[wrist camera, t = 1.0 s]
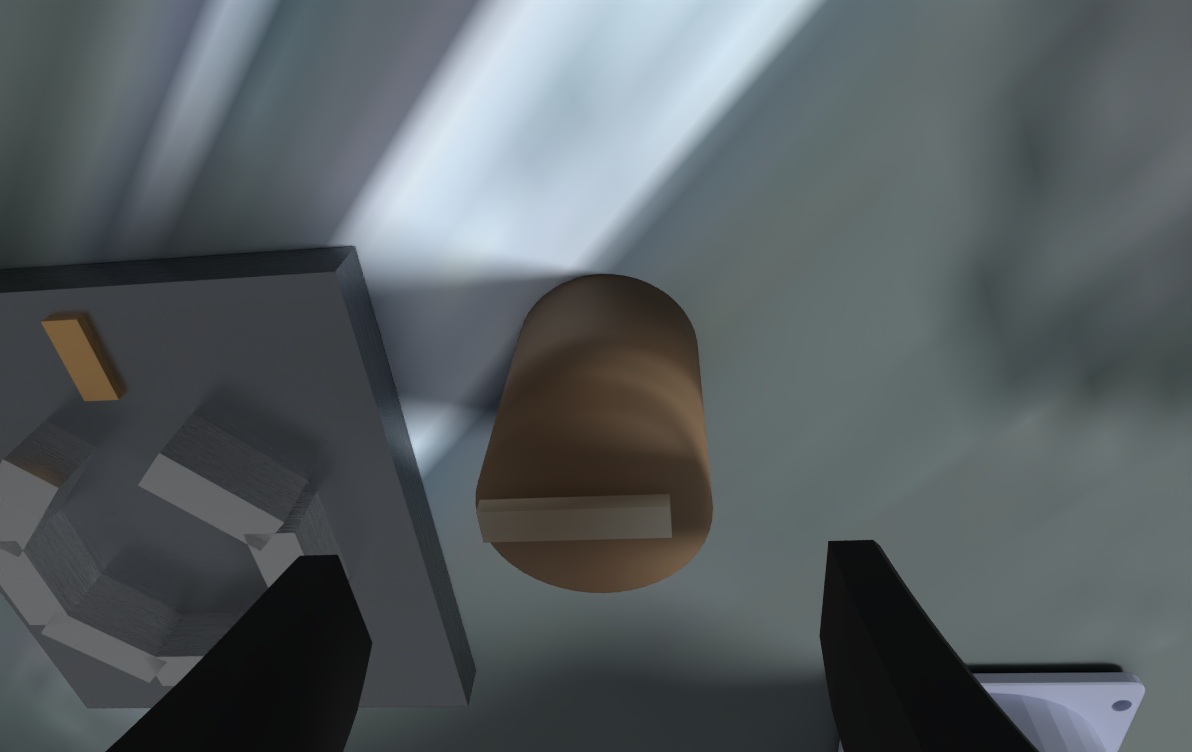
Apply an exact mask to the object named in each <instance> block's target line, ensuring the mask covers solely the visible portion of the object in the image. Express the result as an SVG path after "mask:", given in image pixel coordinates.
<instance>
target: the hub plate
mask: <svg viewBox="0 0 1192 752" xmlns="http://www.w3.org/2000/svg"><path fill="white" fill-rule="evenodd" d="M304 555H338V556H339V558H340V561H341V563H342V566H343V569H344V571H345V574H346V576H347V579H348V581H349V584H350V586H351V589H352V592H353V594H354V597H355V599H356V602H357V604H358V607H359V609H360V612H361V615H362V617H363V620H364V622H365V625H366V627H367V630H368V632H369V635H370V638H371V640H372V648H371V653H370V658H369V662H368V667H367V672H366V677H365V681H364V685H363V690H362V694H361V698H360V702H359V706H358V707H458V706H468V705H469V701H470V696H471V691H472V687H473V682H474V677H475V673H476V669H475V666H474V662H473V659H472V655H471V652H470V648H469V645H468V641H467V638H466V634H465V631H464V627H463V624H462V620H461V617H460V613H459V610H458V606H457V603H456V599H455V596H454V592H453V589H452V585H451V582H450V578H449V575H448V571H447V568H446V564H445V561H444V557H443V554H442V550H441V547H440V543H439V540H438V536H437V533H436V529H435V526H434V522H433V519H432V515H431V512H430V508H429V505H428V501H427V498H426V494H425V491H424V487H423V484H422V480H421V477H420V473H419V470H418V466H417V463H416V459H415V456H414V452H413V449H412V445H411V442H410V438H409V435H408V431H407V427H406V424H405V420H404V417H403V413H402V410H401V406H400V403H399V399H398V396H397V392H396V389H395V385H394V382H393V378H392V375H391V371H390V368H389V364H388V361H387V357H386V354H385V350H384V347H383V343H382V340H381V336H380V333H379V329H378V326H377V322H376V319H375V315H374V312H373V308H372V305H371V301H370V298H369V294H368V291H367V287H366V284H365V280H364V277H363V273H362V270H361V266H360V263H359V259H358V256H357V252H356V249H355V246H353V247H338V248H323V249H309V250H294V251H279V252H264V253H249V254H234V255H219V256H204V257H189V258H175V259H160V260H145V261H130V262H115V263H100V264H85V265H70V266H55V267H41V268H26V269H11V270H0V592H1V593H2V595H3V596H4V597H5V599H6V600H7V601H8V603H9V604H10V605H11V607H12V608H13V609H14V611H15V612H16V613H17V615H18V616H19V617H20V619H21V620H22V621H23V623H24V624H25V625H26V627H27V628H28V629H29V631H30V632H31V633H32V635H33V636H34V637H35V639H36V640H37V641H38V643H39V644H40V645H41V647H42V648H43V649H44V651H45V652H46V653H47V655H48V656H49V657H50V659H51V660H52V662H53V663H54V664H55V666H56V667H57V668H58V670H59V671H60V672H61V674H62V675H63V676H64V678H65V679H66V680H67V682H68V683H69V684H70V686H71V687H72V688H73V690H74V691H75V692H76V694H77V695H78V696H79V698H80V699H81V700H82V702H83V703H84V704H85V706H86V707H87V708H152V707H153V706H154V705H155V704H156V703H157V702H158V701H159V700H161V699H162V698H163V697H164V696H165V695H166V694H167V693H168V692H169V691H170V690H171V689H172V688H173V687H174V686H175V685H176V684H177V683H178V682H179V681H180V680H181V679H182V678H183V677H184V676H185V675H186V674H187V673H188V672H189V671H190V670H191V669H192V668H193V667H194V666H195V665H196V664H197V663H198V662H199V661H200V660H201V659H202V658H203V657H204V656H205V655H206V654H207V653H208V652H209V650H210V649H211V648H212V647H213V646H214V645H215V644H216V643H217V642H218V641H219V640H220V639H221V638H222V637H223V636H224V635H225V634H226V633H227V632H228V631H229V630H230V629H231V628H232V626H233V625H234V624H235V623H236V622H237V621H238V620H239V619H240V618H241V617H242V616H243V615H244V614H245V613H246V612H247V611H248V609H249V608H250V607H251V606H252V605H253V604H254V603H255V602H256V601H257V600H258V599H259V598H260V597H261V596H262V595H263V593H264V592H265V591H266V590H267V589H268V588H269V587H270V586H271V585H272V584H273V583H274V582H275V581H276V580H277V578H278V577H279V576H280V575H281V574H282V573H283V572H284V571H285V570H286V569H287V568H288V567H289V566H290V565H291V564H292V563H293V562H294V561H295V560H296V559H297V558H298V557H299V556H304Z"/></svg>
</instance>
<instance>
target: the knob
mask: <svg viewBox="0 0 1192 752" xmlns="http://www.w3.org/2000/svg"><path fill="white" fill-rule="evenodd" d="M476 509H477V511H476V513H477V517H478V522H479V526H480V530H481V534H482V538H483V542H484V543H486V542H490V543H491V544H492V545H493V547H494V548H495V549H496V550H497V551H498V552H499V553H500V554H501V556H502V557H504V558H505V559H506V560H507V561H508V562H509V563H511V564H512V565H513V566H515V567H516V568H518V569H519V570H521V571H522V572H524V573H526V574H528V575H529V576H531V577H533V578H535V579H538V580H540V581H542V582H545V583H547V584H550V585H553V586H557V587H560V588H564V589H569V590H574V591H581V592H590V593H610V592H621V591H628V590H633V589H637V588H641V587H645V586H648V585H650V584H653V583H656V582H658V581H660V580H662V579H664V578H666V577H668V576H670V575H672V574H673V573H675V572H676V571H678V570H679V569H681V568H682V567H683V566H684V565H686V564H687V563H688V562H689V561H690V560H691V559H692V558H693V557H694V556H695V555H696V553H697V552H698V551H699V550H700V548H701V546H702V545H703V543H704V542H705V540H706V537H707V535H708V533H709V530H710V526H711V522H712V513H713V505H712V494H711V484H710V473H709V462H708V451H707V441H706V430H705V419H704V409H703V398H702V387H701V376H700V366H699V355H698V345H697V339H696V335H695V331H694V329H693V327H692V324H691V322H690V320H689V319H688V317H687V315H686V314H685V312H684V311H683V310H682V308H681V307H680V306H679V305H678V304H677V303H676V302H675V301H674V300H673V299H672V298H671V297H670V296H669V295H667V294H666V293H664V292H663V291H661V290H660V289H658V288H657V287H655V286H653V285H651V284H649V283H647V282H644V281H641V280H639V279H636V278H631V277H627V276H622V275H614V274H597V275H589V276H584V277H580V278H576V279H573V280H570V281H568V282H565V283H563V284H561V285H559V286H557V287H555V288H554V289H552V290H551V291H549V292H548V293H547V294H545V295H544V296H543V297H542V298H541V299H540V300H539V301H538V302H537V303H536V304H535V305H534V306H533V308H532V309H531V310H530V312H529V313H528V315H527V317H526V319H525V320H524V323H523V326H522V328H521V331H520V335H519V338H518V342H517V345H516V349H515V352H514V356H513V359H512V363H511V366H510V370H509V374H508V377H507V381H506V384H505V388H504V391H503V395H502V398H501V402H500V406H499V409H498V413H497V416H496V420H495V423H494V427H493V430H492V434H491V438H490V441H489V445H488V448H487V452H486V455H485V459H484V462H483V466H482V469H481V473H480V477H479V480H478V485H477V490H476Z"/></svg>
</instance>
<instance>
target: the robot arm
mask: <svg viewBox="0 0 1192 752" xmlns="http://www.w3.org/2000/svg"><path fill="white" fill-rule="evenodd" d="M820 641H821V648H822V654H823V660H824V666H825V673H826V679H827V685H828V690H829V696H830V702H831V707H832V711H833V715H834V719H835V722H836V726H837V730H838V733H839V737H840V742H839V750H838V752H1117V751H1118V749H1119V747H1120V745H1121V743H1122V741H1123V739H1124V736H1125V734H1126V732H1127V730H1128V728H1129V726H1130V724H1131V721H1132V719H1133V717H1134V715H1135V713H1136V711H1137V709H1138V706H1139V704H1140V702H1141V700H1142V698H1143V696H1144V694H1145V688H1144V686H1143V684H1142V683H1141V681H1140V679H1139V678H1138V677H1137V676H1136V675H1134V674H1132V673H1126V672H1094V673H974V674H972V672H971V671H970V670H969V669H968V667H967V666H966V665H965V664H964V662H963V661H962V660H961V659H960V657H959V656H958V655H957V653H956V652H955V651H954V650H953V648H952V647H951V646H950V645H949V643H948V642H947V641H946V640H945V638H944V637H943V636H942V634H941V633H940V632H939V630H938V629H937V628H936V626H935V625H934V624H933V622H932V621H931V620H930V618H929V617H928V615H927V614H926V613H925V611H924V610H923V608H922V607H921V606H920V604H919V603H918V602H917V600H916V599H915V597H914V596H913V595H912V593H911V592H910V590H909V589H908V587H907V586H906V585H905V583H904V582H903V580H902V579H901V577H900V576H899V574H898V573H897V571H896V570H895V568H894V567H893V565H892V564H891V562H890V561H889V559H888V558H887V556H886V554H885V553H884V551H883V550H882V548H881V546H880V545H878V544H877V543H876V542H875V541H874V540H853V541H828V552H827V563H826V573H825V584H824V595H823V605H822V616H821V627H820ZM371 648H372V640H371V638H370V635H369V632H368V630H367V627H366V625H365V622H364V620H363V617H362V615H361V612H360V609H359V607H358V604H357V602H356V599H355V597H354V594H353V592H352V589H351V586H350V584H349V581H348V579H347V576H346V574H345V571H344V569H343V566H342V563H341V561H340V558H339V556H338V555H304V556H299V557H298V558H297V559H296V560H295V561H294V562H293V563H292V564H291V565H290V566H289V567H288V568H287V569H286V570H285V571H284V572H283V573H282V574H281V575H280V576H279V577H278V578H277V580H276V581H275V582H274V583H273V584H272V585H271V586H270V587H269V588H268V589H267V590H266V591H265V592H264V593H263V595H262V596H261V597H260V598H259V599H258V600H257V601H256V602H255V603H254V604H253V605H252V606H251V607H250V608H249V609H248V611H247V612H246V613H245V614H244V615H243V616H242V617H241V618H240V619H239V620H238V621H237V622H236V623H235V624H234V625H233V626H232V628H231V629H230V630H229V631H228V632H227V633H226V634H225V635H224V636H223V637H222V638H221V639H220V640H219V641H218V642H217V643H216V644H215V645H214V646H213V647H212V648H211V649H210V650H209V652H208V653H207V654H206V655H205V656H204V657H203V658H202V659H201V660H200V661H199V662H198V663H197V664H196V665H195V666H194V667H193V668H192V669H191V670H190V671H189V672H188V673H187V674H186V675H185V676H184V677H183V678H182V679H181V680H180V681H179V682H178V683H177V684H176V685H175V686H174V687H173V688H172V689H171V690H170V691H169V692H168V693H167V694H166V695H165V696H164V697H163V698H162V699H161V700H159V701H158V702H157V703H156V704H155V705H154V706H153V707H152V708H151V709H150V710H149V711H148V712H147V713H146V714H145V715H144V716H143V717H142V718H141V719H140V720H139V721H138V722H137V723H136V724H135V725H134V726H133V727H131V728H130V729H129V730H128V731H127V732H126V733H125V734H124V735H123V736H122V737H121V738H120V739H119V740H118V741H117V742H116V743H114V744H113V745H112V746H111V747H110V748H109V749H108V750H107V751H106V752H343V751H344V748H345V745H346V742H347V739H348V736H349V734H350V731H351V728H352V725H353V722H354V719H355V716H356V713H357V710H358V706H359V702H360V698H361V694H362V690H363V685H364V681H365V677H366V672H367V667H368V662H369V658H370V653H371Z"/></svg>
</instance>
